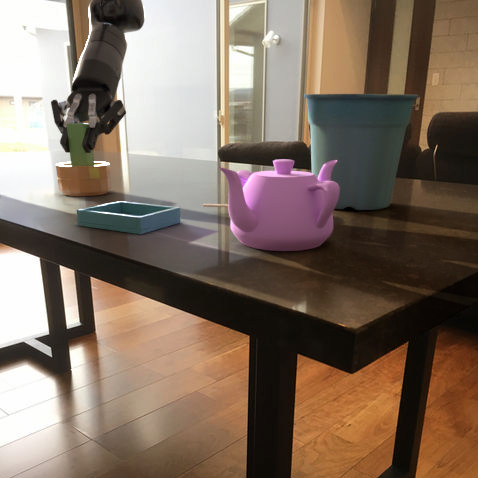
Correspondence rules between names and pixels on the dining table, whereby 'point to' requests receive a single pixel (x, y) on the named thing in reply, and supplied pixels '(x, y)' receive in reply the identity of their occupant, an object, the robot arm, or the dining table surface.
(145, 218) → the tray
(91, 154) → the block
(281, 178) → the teapot
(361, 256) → the dining table surface
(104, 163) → the bowl
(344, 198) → the flower pot
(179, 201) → the dining table surface
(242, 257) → the dining table surface
